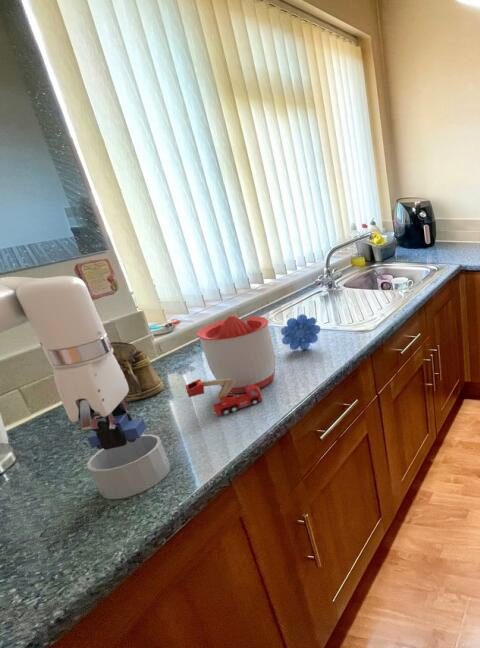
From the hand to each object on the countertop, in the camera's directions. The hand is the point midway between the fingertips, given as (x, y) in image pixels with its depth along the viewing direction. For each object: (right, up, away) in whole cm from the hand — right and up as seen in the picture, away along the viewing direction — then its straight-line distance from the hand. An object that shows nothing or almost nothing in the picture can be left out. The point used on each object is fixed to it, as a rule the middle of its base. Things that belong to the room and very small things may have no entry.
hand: (120, 439), depth 74 cm
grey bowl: (0, -9, +3) cm, 9 cm away
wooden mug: (-25, +2, +31) cm, 40 cm away
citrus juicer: (-1, +5, +38) cm, 38 cm away
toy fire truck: (+3, 0, +25) cm, 25 cm away
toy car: (0, 0, 0) cm, 0 cm away
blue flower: (+4, +13, +58) cm, 59 cm away
